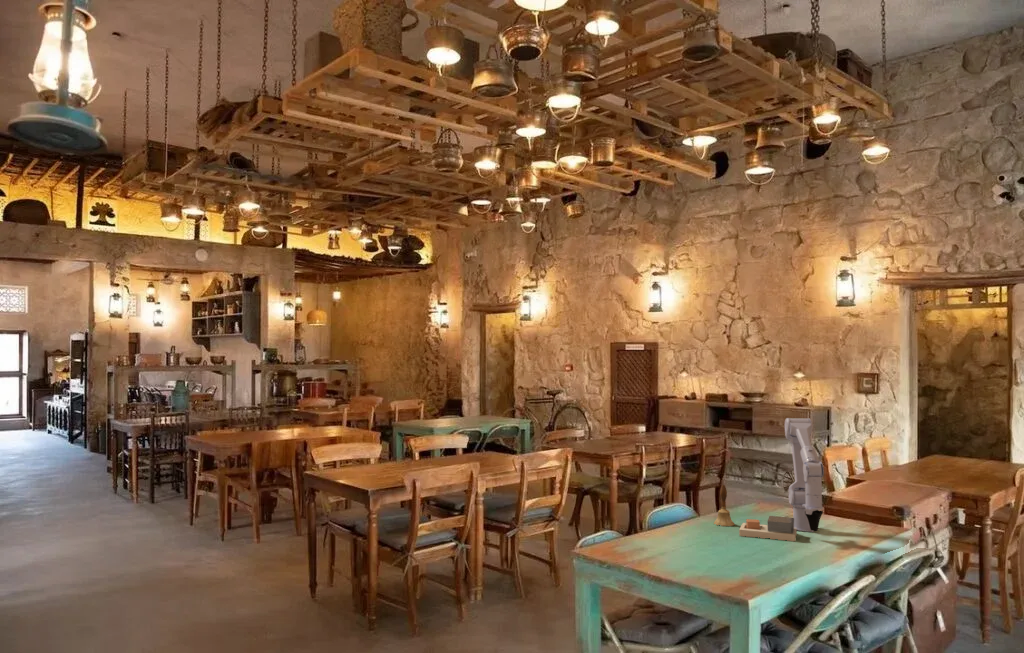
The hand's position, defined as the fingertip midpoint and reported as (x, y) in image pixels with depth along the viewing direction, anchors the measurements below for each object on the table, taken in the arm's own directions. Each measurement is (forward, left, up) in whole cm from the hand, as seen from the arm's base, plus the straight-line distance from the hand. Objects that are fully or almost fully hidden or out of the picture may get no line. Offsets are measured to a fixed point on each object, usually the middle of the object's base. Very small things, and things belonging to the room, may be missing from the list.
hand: (814, 530), depth 274 cm
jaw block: (0, -22, -3) cm, 22 cm away
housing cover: (0, -12, -1) cm, 12 cm away
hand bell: (-11, -34, -4) cm, 36 cm away
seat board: (0, -16, -3) cm, 17 cm away
